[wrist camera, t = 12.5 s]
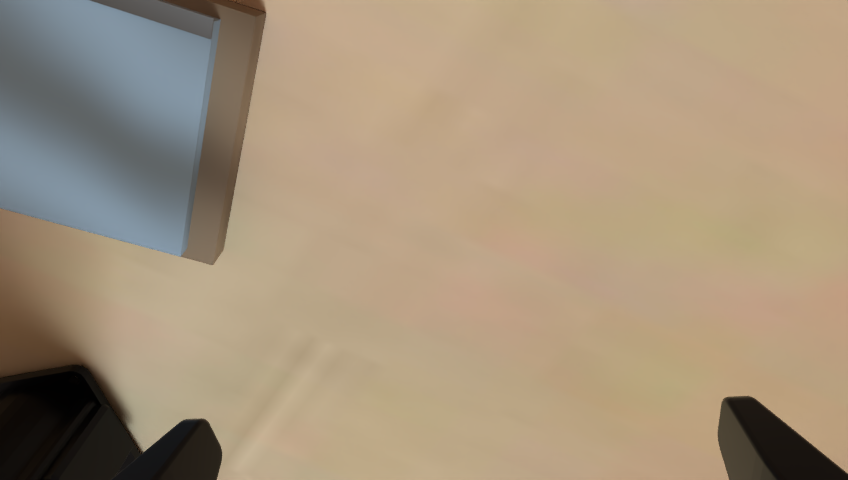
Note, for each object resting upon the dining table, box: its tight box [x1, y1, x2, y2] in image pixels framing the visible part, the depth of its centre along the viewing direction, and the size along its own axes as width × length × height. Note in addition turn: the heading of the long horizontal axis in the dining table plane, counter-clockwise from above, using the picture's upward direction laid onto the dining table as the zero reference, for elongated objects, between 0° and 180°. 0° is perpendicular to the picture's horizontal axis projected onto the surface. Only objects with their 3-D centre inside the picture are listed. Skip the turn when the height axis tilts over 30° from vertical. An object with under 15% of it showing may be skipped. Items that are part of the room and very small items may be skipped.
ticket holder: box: [0, 0, 266, 265], centre depth 18 cm, size 9×12×2 cm
